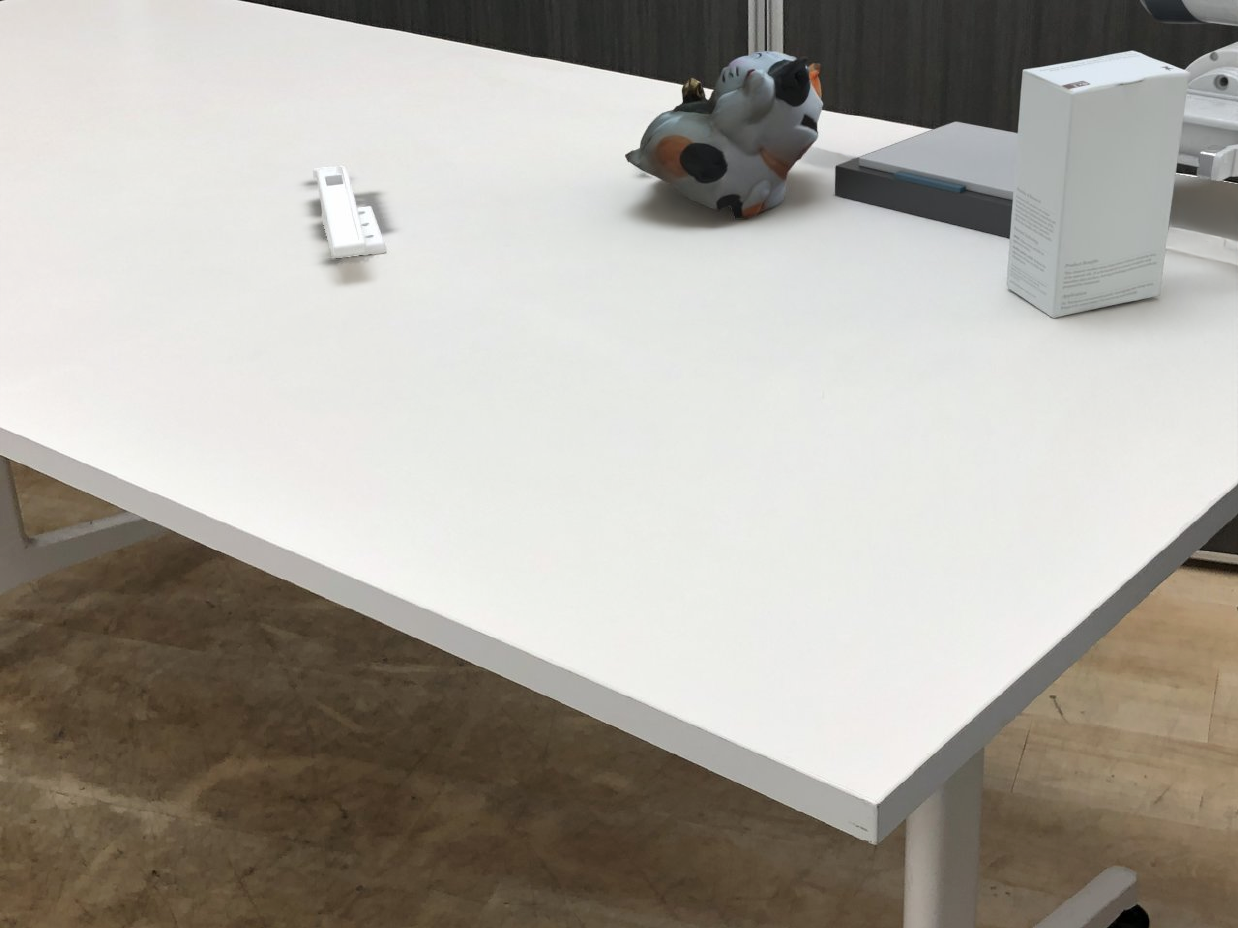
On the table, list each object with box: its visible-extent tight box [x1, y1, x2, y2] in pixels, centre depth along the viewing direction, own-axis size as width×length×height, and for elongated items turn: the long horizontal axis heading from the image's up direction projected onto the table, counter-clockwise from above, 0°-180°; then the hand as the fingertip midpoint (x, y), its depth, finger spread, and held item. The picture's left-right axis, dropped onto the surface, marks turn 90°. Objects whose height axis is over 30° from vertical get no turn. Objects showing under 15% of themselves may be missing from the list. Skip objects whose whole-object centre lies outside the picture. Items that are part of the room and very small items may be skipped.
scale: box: [834, 121, 1018, 239], centre depth 112 cm, size 17×15×3 cm
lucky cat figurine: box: [624, 50, 824, 220], centre depth 112 cm, size 15×12×14 cm
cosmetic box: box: [1006, 50, 1190, 319], centre depth 90 cm, size 8×6×15 cm
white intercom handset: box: [312, 164, 387, 259], centre depth 109 cm, size 4×20×5 cm, turn 15°
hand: (1138, 154), depth 93 cm, fingers open, 8 cm apart
